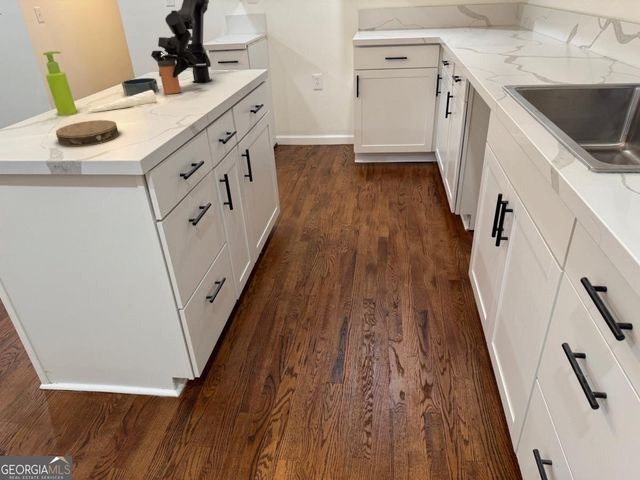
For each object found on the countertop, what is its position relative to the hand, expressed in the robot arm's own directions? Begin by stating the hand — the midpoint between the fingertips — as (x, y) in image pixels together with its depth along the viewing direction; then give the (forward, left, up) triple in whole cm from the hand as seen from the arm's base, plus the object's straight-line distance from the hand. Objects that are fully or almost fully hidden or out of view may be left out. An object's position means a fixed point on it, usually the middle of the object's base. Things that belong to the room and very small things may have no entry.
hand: (166, 76), depth 174 cm
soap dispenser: (+16, +34, -7) cm, 38 cm away
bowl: (+14, +1, -7) cm, 16 cm away
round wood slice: (-18, +54, -7) cm, 58 cm away
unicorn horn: (+1, +22, -7) cm, 23 cm away
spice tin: (0, -1, -6) cm, 6 cm away
